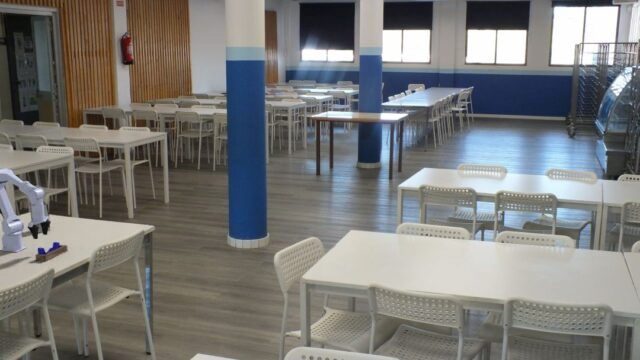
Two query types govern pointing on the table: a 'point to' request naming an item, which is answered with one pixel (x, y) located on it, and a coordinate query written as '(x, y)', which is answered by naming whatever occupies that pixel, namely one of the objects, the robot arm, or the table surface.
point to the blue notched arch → (55, 246)
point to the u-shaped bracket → (51, 254)
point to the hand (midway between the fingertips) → (40, 236)
